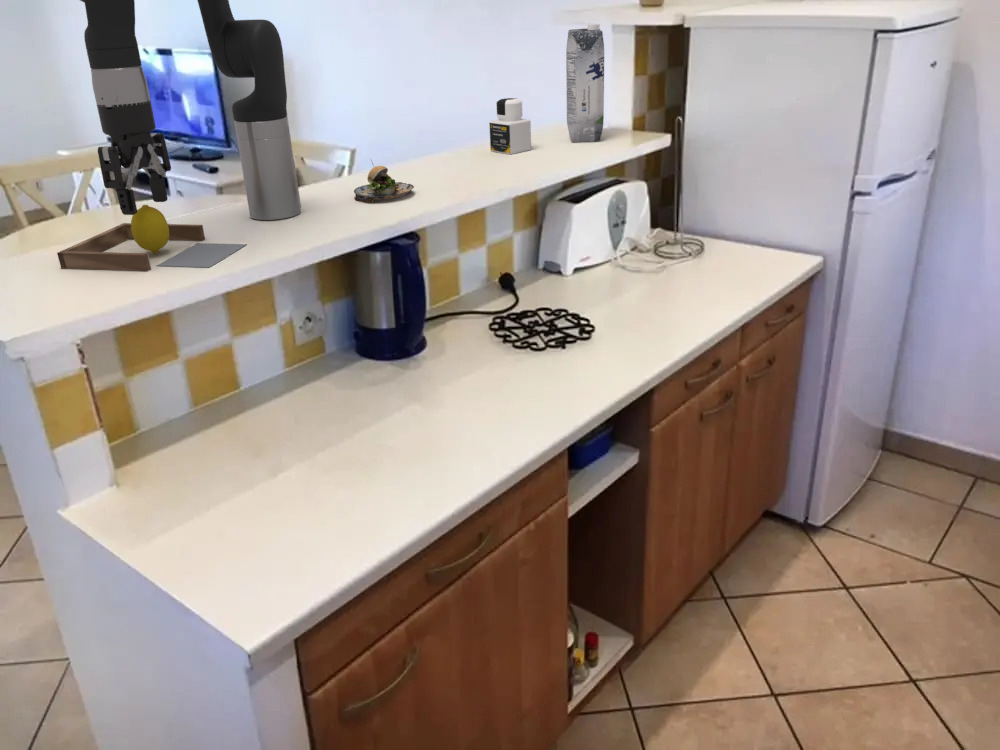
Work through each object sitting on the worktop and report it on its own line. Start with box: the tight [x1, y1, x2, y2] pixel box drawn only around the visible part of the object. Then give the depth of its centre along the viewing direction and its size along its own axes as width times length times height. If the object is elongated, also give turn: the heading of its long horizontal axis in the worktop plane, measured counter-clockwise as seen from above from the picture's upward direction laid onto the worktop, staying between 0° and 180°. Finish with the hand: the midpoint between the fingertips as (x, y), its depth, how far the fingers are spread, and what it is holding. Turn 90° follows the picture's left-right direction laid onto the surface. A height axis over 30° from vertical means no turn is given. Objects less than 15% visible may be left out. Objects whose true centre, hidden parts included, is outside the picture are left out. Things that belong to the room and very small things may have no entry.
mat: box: [155, 242, 247, 269], centre depth 135 cm, size 12×9×1 cm
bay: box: [56, 222, 206, 272], centre depth 137 cm, size 17×15×2 cm
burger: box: [353, 159, 415, 205], centre depth 165 cm, size 12×12×8 cm
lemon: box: [130, 204, 170, 255], centre depth 135 cm, size 6×6×8 cm
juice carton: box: [565, 23, 605, 143], centre depth 208 cm, size 9×10×27 cm
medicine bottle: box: [488, 97, 532, 155], centre depth 201 cm, size 7×7×12 cm
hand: (145, 207), depth 133 cm, fingers open, 8 cm apart
